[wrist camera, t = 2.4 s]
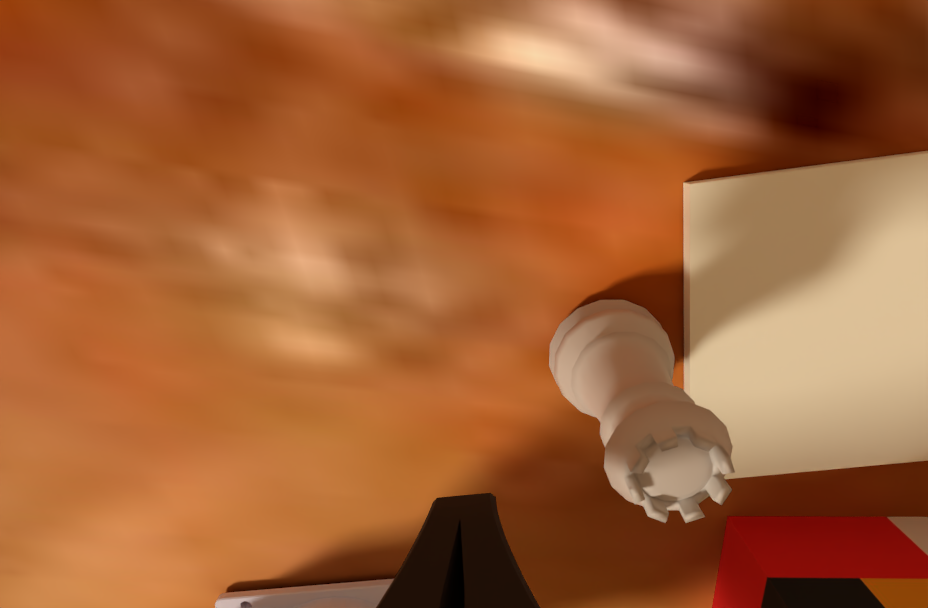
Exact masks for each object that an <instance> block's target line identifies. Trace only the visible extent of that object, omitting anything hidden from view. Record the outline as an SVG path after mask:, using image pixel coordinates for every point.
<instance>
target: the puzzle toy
mask: <svg viewBox="0 0 928 608" xmlns="http://www.w3.org/2000/svg"><path fill="white" fill-rule="evenodd" d="M712 608H928V517H823V516H728V517H727V523H726V529H725V534H724V540H723V546H722V552H721V558H720V564H719V570H718V576H717V582H716V588H715V594H714V599H713V605H712Z"/></svg>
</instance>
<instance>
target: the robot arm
mask: <svg viewBox="0 0 928 608" xmlns="http://www.w3.org/2000/svg"><path fill="white" fill-rule="evenodd" d="M215 608H540V607H539V605H538V603H537V601H536V600H535V598H534V596H533V594H532V592H531V591H530V589H529V587H528V585H527V583H526V581H525V579H524V577H523V575H522V573H521V571H520V569H519V567H518V565H517V563H516V561H515V558H514V556H513V554H512V552H511V549H510V547H509V545H508V542H507V540H506V537H505V535H504V532H503V529H502V526H501V523H500V520H499V516H498V512H497V505H496V497H495V496H493V495H492V494H491V493H485V494H474V495H464V496H453V497H442V498H437V499H436V500H435V501H434V502H433V504H432V506H431V509H430V511H429V513H428V516H427V518H426V520H425V522H424V524H423V526H422V529H421V531H420V533H419V535H418V537H417V539H416V540H415V542H414V544H413V546H412V548H411V550H410V552H409V553H408V555H407V557H406V559H405V561H404V563H403V564H402V566H401V568H400V570H399V571H398V573H397V575H396V577H395V578H394V579H383V580H371V581H359V582H347V583H335V584H323V585H312V586H300V587H288V588H276V589H264V590H252V591H240V592H228V593H223V594H221V595H220V596H219V597H218V599H217V601H216V603H215Z"/></svg>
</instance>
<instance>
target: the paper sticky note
mask: <svg viewBox="0 0 928 608" xmlns="http://www.w3.org/2000/svg"><path fill="white" fill-rule="evenodd" d="M683 219H684V392H685V393H686V394H687V395H688V396H689V397H690V398H691V399H692V400H693V401H694V402H695V405H698V406H701V407H703V408H706V409H709V410H711V411H712V412H713V413H714V414H715V415H716V416H717V417H718V418H719V419H720V420H721V421H722V422H723V423H724V424H725V425H726V427H727V430H728V434H729V437H730V440H731V443H732V446H733V447H732V453H731V461H732V464H733V467H734V470H735V473H728V474H725V476H724V479H734V478H745V477H755V476H766V475H777V474H788V473H798V472H809V471H820V470H831V469H842V468H852V467H863V466H874V465H885V464H896V463H906V462H917V461H928V151H921V152H914V153H906V154H898V155H891V156H883V157H875V158H868V159H860V160H852V161H845V162H837V163H829V164H822V165H814V166H806V167H799V168H791V169H783V170H776V171H768V172H760V173H753V174H745V175H737V176H730V177H722V178H714V179H707V180H699V181H691V182H684V183H683Z"/></svg>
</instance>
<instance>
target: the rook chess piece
mask: <svg viewBox="0 0 928 608" xmlns="http://www.w3.org/2000/svg"><path fill="white" fill-rule="evenodd" d="M674 361H675V357H674V353H673V350H672V347H671V344H670V341H669V338H668V335H667V333H666V332H665V331H664V330H663V329H662V326H661V324H660V323H659V322H658V321H657V320H656V319H655V318H654V317H653V316H652V314H651V313H650V312H649V311H648V310H647V309H646V308H644V307H641V306H639V305H636V304H634V303H631V302H629V301H626V300H598V301H596V302H593V303H590V304H588V305H585V306H583V307H580V308H577V309H576V310H575V311H574V312H573V313H572V314H571V315H570V316H568V317H567V318H566V319H565V320H564V321H563V322H562V323H561V324H560V325H559V327H558V329H557V331H556V333H555V335H554V337H553V339H552V341H551V343H550V356H549V366H550V369H551V371H552V374H553V376H554V378H555V381H556V383H557V385H558V386H559V388H560V391H561V393H562V395H563V396H564V397H565V398H566V399H568V400H569V401H570V402H571V403H572V404H573V405H574V406H575V407H576V408H577V409H578V410H580V411H581V412H583V413H585V414H588V415H591V416H593V417H596V418H597V419H598V420H599V421H600V423H601V424H600V436H601V439H602V441H603V444H604V446H605V459H604V469H605V472H606V474H607V476H608V479H609V481H610V484H611V486H612V487H613V488H614V489H615V490H616V491H617V492H618V493H619V494H620V495H622V496H623V497H624V498H625V499H626V500H627V501H629V502H632V503H634V504H638V505H640V506H643V507H644V509H645V511H646V514H647V516H648V517H650V518H653V519H656V520H659V521H662V522H664V523H666V521H667V518H668V515H669V512H668V510H679V511H680V513H681V515H682V517H683V519H684V521H685V523H688V522H691V521H694V520H697V519H700V518H704V517H705V516H704V514H703V512H702V510H701V509H700V507H699V505H698V504H699V503H700V502H702V501H703V500H705V499H706V498H707V497H709V496H710V497H711V498H712V500H714V501H715V502H717V503H719V504H720V505H722V504H723V503H724V501H725V500H726V498H727V497H728V495H729V494H730V492H731V491H732V489H731V487H730V486H729V485H728V483H727V482H726V480H725V479H724V476H725V474H728V473H735V470H734V467H733V464H732V461H731V453H732V447H733V446H732V443H731V440H730V437H729V434H728V430H727V427H726V425H725V424H724V423H723V422H722V421H721V420H720V419H719V418H718V417H717V416H716V415H715V414H714V413H713V412H712V411H711V410H709V409H706V408H703V407H701V406H698V405H695V402H694V401H693V400H692V399H691V398H690V397H689V396H688V395H687V394H686V393H685V392H684V391H683V390H682V389H681V388H678V387H676V386H673V383H672V378H673V369H674Z"/></svg>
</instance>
